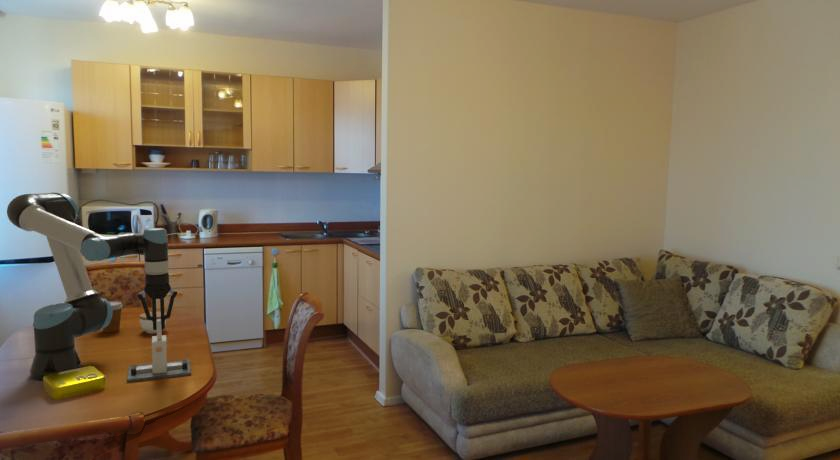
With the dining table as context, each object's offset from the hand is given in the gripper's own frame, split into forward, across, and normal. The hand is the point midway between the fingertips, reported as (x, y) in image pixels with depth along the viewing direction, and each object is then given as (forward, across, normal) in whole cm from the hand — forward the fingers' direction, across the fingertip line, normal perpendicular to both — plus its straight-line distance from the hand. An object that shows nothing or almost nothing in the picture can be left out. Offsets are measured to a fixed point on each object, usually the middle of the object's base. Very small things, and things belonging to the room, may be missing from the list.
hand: (159, 338), depth 200 cm
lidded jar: (+12, +3, -54) cm, 55 cm away
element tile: (+13, +26, +6) cm, 29 cm away
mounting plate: (+12, 0, 0) cm, 12 cm away
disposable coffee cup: (+12, +20, -62) cm, 66 cm away
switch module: (+11, 0, 0) cm, 11 cm away
